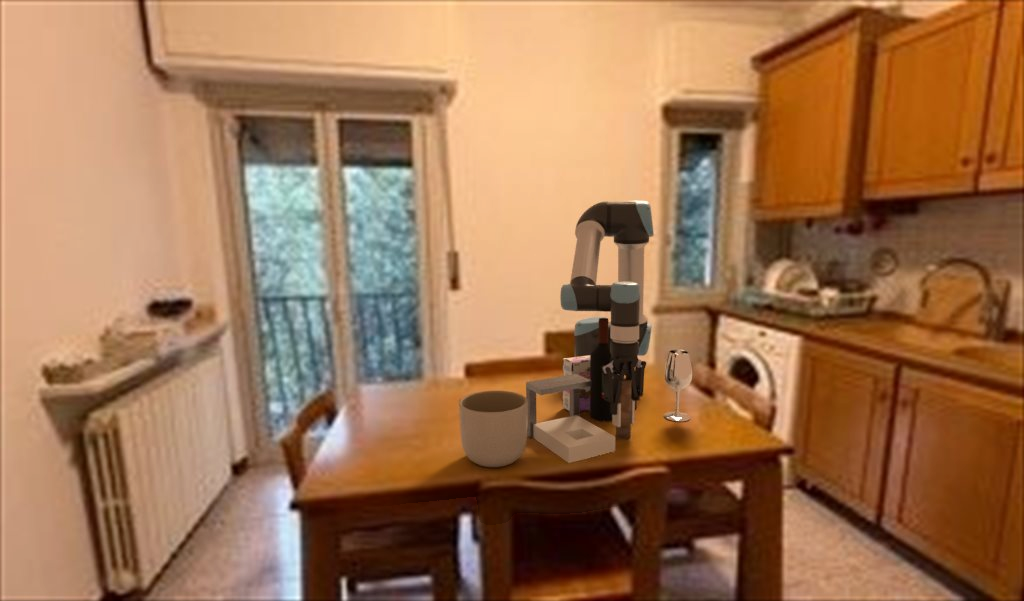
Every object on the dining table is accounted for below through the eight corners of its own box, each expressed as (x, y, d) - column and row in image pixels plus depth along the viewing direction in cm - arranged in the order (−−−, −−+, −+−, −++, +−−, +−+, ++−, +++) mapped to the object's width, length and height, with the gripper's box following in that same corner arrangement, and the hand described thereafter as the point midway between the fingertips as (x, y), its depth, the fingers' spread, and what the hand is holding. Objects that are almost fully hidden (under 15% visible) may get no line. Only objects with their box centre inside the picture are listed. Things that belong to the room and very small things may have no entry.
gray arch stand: (575, 425, 163) (575, 373, 160) (591, 435, 156) (591, 380, 153) (526, 436, 156) (526, 381, 153) (541, 446, 149) (540, 389, 146)
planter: (532, 472, 134) (531, 411, 132) (460, 476, 133) (458, 414, 130) (524, 443, 151) (524, 389, 148) (460, 447, 149) (459, 391, 147)
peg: (624, 432, 157) (625, 377, 155) (633, 437, 154) (634, 380, 151) (612, 435, 155) (613, 379, 153) (621, 440, 152) (622, 382, 149)
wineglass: (658, 417, 168) (660, 352, 165) (671, 410, 174) (672, 347, 171) (683, 424, 163) (685, 356, 160) (695, 416, 168) (697, 351, 165)
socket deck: (576, 428, 161) (576, 415, 160) (615, 451, 145) (615, 436, 144) (533, 437, 154) (533, 424, 154) (568, 463, 139) (568, 447, 138)
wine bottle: (600, 410, 175) (600, 315, 170) (620, 416, 169) (621, 318, 165) (584, 417, 170) (585, 319, 165) (605, 423, 164) (606, 322, 160)
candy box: (571, 414, 172) (571, 362, 169) (562, 408, 177) (561, 357, 175) (609, 407, 178) (610, 356, 175) (599, 402, 183) (599, 352, 180)
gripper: (640, 334, 157) (639, 414, 161) (589, 341, 150) (589, 425, 153) (658, 339, 151) (657, 422, 154) (606, 346, 143) (606, 434, 147)
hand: (623, 423), depth 154 cm, fingers closed on peg, 4 cm apart
